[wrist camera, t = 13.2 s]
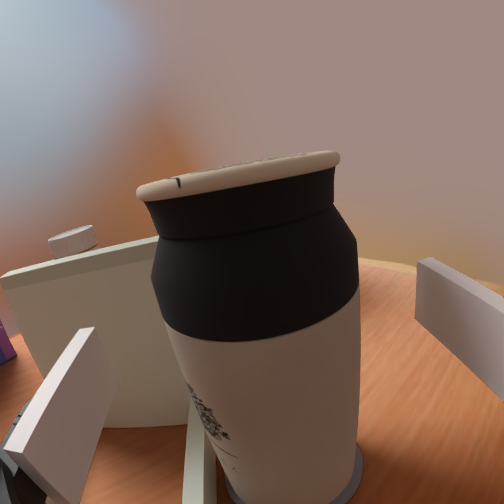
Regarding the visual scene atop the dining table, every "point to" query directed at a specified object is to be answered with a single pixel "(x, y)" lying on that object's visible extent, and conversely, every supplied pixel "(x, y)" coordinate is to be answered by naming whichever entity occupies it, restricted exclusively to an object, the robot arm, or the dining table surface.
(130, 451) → the dining table surface
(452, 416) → the dining table surface
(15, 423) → the robot arm
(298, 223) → the travel mug
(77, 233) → the bottle
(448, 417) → the dining table surface
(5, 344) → the purple rectangular box
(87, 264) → the rack
